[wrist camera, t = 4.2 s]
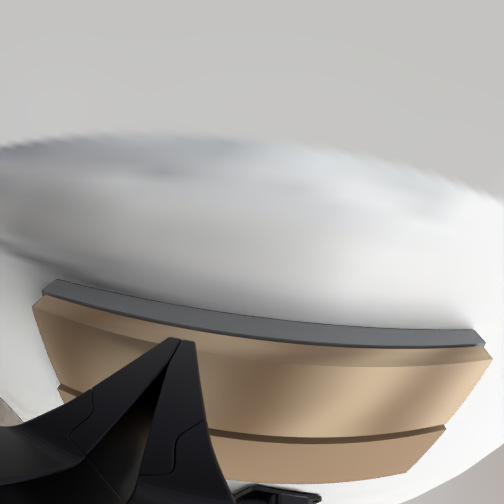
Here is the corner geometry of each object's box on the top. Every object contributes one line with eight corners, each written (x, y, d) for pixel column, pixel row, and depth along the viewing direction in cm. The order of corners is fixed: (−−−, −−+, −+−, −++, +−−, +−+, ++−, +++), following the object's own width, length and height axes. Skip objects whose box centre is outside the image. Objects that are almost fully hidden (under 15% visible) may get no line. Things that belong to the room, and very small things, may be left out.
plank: (482, 345, 9) (492, 358, 8) (440, 410, 11) (446, 423, 10) (45, 294, 9) (31, 306, 8) (69, 370, 11) (60, 382, 10)
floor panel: (473, 329, 10) (496, 354, 8) (397, 449, 14) (405, 473, 11) (57, 279, 11) (27, 300, 9) (96, 416, 14) (83, 439, 12)
